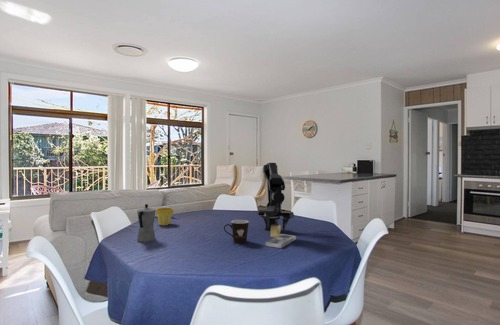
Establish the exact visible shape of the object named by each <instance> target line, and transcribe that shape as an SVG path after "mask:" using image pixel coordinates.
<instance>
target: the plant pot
mask: <svg viewBox="0 0 500 325" xmlns="http://www.w3.org/2000/svg"><path fill="white" fill-rule="evenodd" d="M155 210H156V212H155V216H157V221H158V225H159V226H168V224H169V225H171V221H172V217H173V214H174V208H172V207H159V208H156V209H155Z"/></svg>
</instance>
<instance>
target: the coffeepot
mask: <svg viewBox="0 0 500 325" xmlns="http://www.w3.org/2000/svg"><path fill="white" fill-rule="evenodd" d="M148 206H149V204H147V203H146V204H145V205H144V207H143V208H140V209H137V210H136V211H137V212H136V213H137V219H138V224H139V227H138V232H137V238H136V241H137V242H138V243H149V242H154V241H155V240H156V235H155V234H156V233H155V229H154V223H155V218H156V209H155V208H152V207H151V208H150V207H148Z"/></svg>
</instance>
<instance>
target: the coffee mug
mask: <svg viewBox="0 0 500 325" xmlns="http://www.w3.org/2000/svg"><path fill="white" fill-rule="evenodd" d="M223 226H224V227H223V230H224V232H225V233H226V234H227V235H229V236H231V237H232V241H233V243H235V244H246V242H247V239H248V231H249V220H246V219H234V220H231V224H229V223H228V224H227V223H226V224H225V225H223ZM227 226H229V227H230V228H231V230H232V233H229V232H228V231H227V230H226V227H227Z"/></svg>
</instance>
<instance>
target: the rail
mask: <svg viewBox="0 0 500 325" xmlns="http://www.w3.org/2000/svg"><path fill="white" fill-rule="evenodd" d="M296 239H297V235H292V234H285V233H281V234H280V235H278V236H276V237H271V238H270V239H268V240H267V241H265V247H270V248H271V247H272V248H276V249H283V248H284V247H285V246H288V245H289V244H291V243H292V242H294V241H296Z"/></svg>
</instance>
